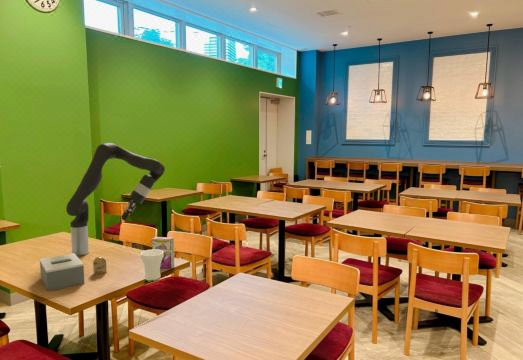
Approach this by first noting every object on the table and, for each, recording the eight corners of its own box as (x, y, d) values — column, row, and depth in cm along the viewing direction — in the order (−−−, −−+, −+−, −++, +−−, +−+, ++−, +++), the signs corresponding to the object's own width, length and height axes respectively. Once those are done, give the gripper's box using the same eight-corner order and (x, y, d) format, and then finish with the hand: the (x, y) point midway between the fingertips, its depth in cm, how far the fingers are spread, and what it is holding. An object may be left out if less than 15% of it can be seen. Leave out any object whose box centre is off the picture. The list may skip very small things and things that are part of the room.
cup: (157, 273, 202) (156, 247, 200) (168, 279, 194) (167, 252, 192) (137, 279, 194) (136, 252, 192) (147, 285, 186) (147, 257, 184)
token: (93, 273, 201) (92, 258, 200) (105, 271, 205) (104, 255, 204) (94, 274, 199) (93, 259, 198) (106, 272, 203) (105, 257, 202)
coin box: (41, 278, 194) (39, 259, 193) (75, 271, 204) (74, 253, 203) (47, 291, 179) (46, 270, 177) (84, 283, 188) (83, 263, 187)
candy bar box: (151, 268, 210) (151, 239, 208) (155, 264, 215) (154, 236, 213) (171, 268, 209) (171, 239, 207) (174, 265, 214) (174, 237, 212)
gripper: (133, 188, 214) (116, 213, 211) (134, 190, 200) (116, 216, 198) (144, 195, 216) (128, 220, 213) (147, 197, 203) (129, 223, 200)
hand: (122, 218), depth 205 cm, fingers open, 8 cm apart
